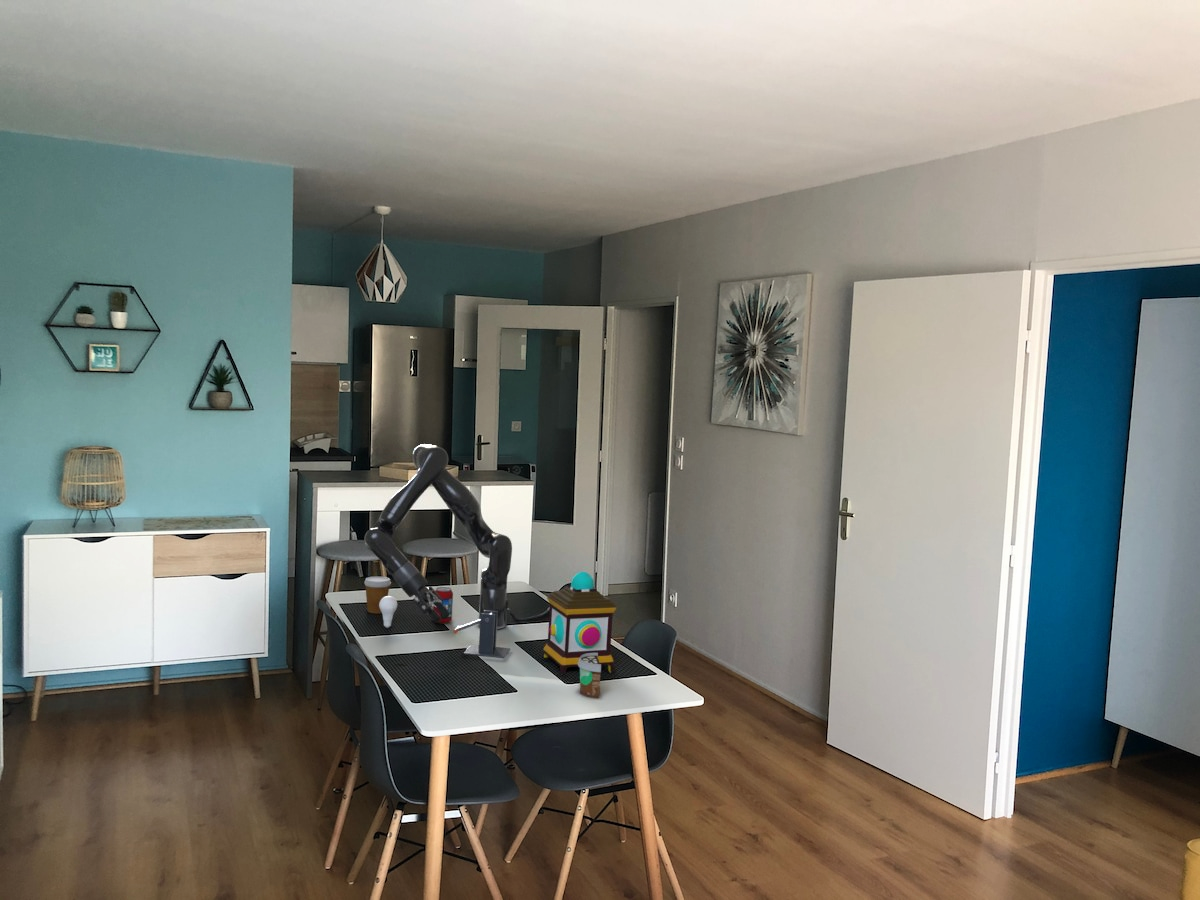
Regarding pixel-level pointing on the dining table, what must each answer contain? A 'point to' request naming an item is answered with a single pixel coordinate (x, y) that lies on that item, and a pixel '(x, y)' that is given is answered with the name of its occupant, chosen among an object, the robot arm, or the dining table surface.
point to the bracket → (487, 638)
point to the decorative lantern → (579, 624)
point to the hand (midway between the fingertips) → (442, 617)
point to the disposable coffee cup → (376, 592)
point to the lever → (467, 625)
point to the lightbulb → (388, 609)
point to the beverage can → (445, 603)
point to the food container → (589, 675)
